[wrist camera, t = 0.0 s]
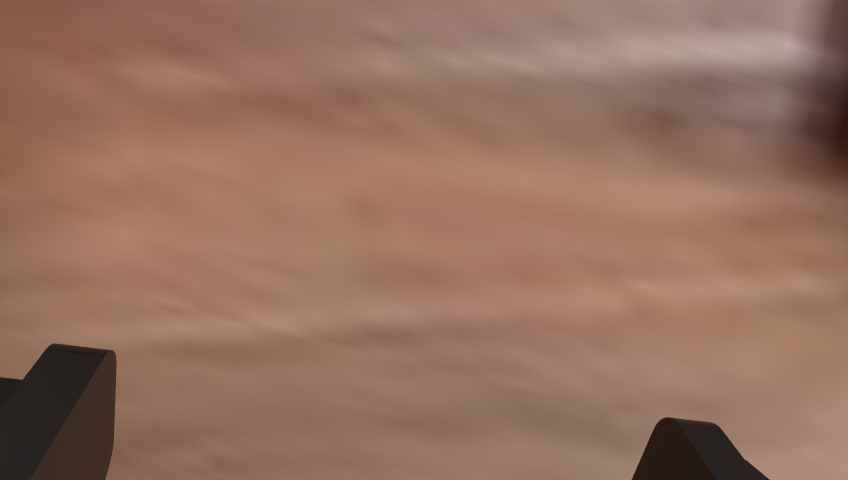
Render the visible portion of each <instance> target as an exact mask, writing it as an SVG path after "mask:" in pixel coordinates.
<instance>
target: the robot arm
mask: <svg viewBox="0 0 848 480" xmlns="http://www.w3.org/2000/svg"><path fill="white" fill-rule="evenodd" d="M115 391H116V355H115V352H114V351H113V350H105V349H97V348H88V347H80V346H71V345H63V344H51V345H50V346H49V347H48V348H47V349H46V350H45V351H44V353H43V354H42V355H41V356H40V358H39V359H38V360H37V362H36V363H35V364H34V366H33V367H32V368H31V370H30V371H29V372H28V373H27V375H26V376H25V377H24V379H23V380H19V379H10V378H1V377H0V480H105V478H106V475H107V472H108V468H109V464H110V460H111V455H112V450H113V442H114V418H115ZM632 480H769V479H768V478H767V477H766V476H764V475H763V474H762V473H761V472H760V471H758V470H757V469H756V468H755V467H754V466H752V465H751V464H750V463H749V462H748V461H746V460H744V458H743V457H742V456H741V454H740V453H739V452H738V450H737V449H736V448H735V447H734V445H733V444H732V443H731V441H730V440H729V439H728V437H727V436H726V435H725V433H724V432H723V431H722V430H721V428H720V427H719V426H717V425H716V424H714V423H711V422H703V421H694V420H686V419H677V418H669V417H667V418H663V419H661V420H660V421H659V422H658V423H657V424H656V426H655V428H654V430H653V432H652V434H651V437H650V439H649V441H648V444H647V446H646V448H645V450H644V453H643V455H642V457H641V460H640V462H639V464H638V466H637V469H636V471H635V473H634V476H633V478H632Z"/></svg>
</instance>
